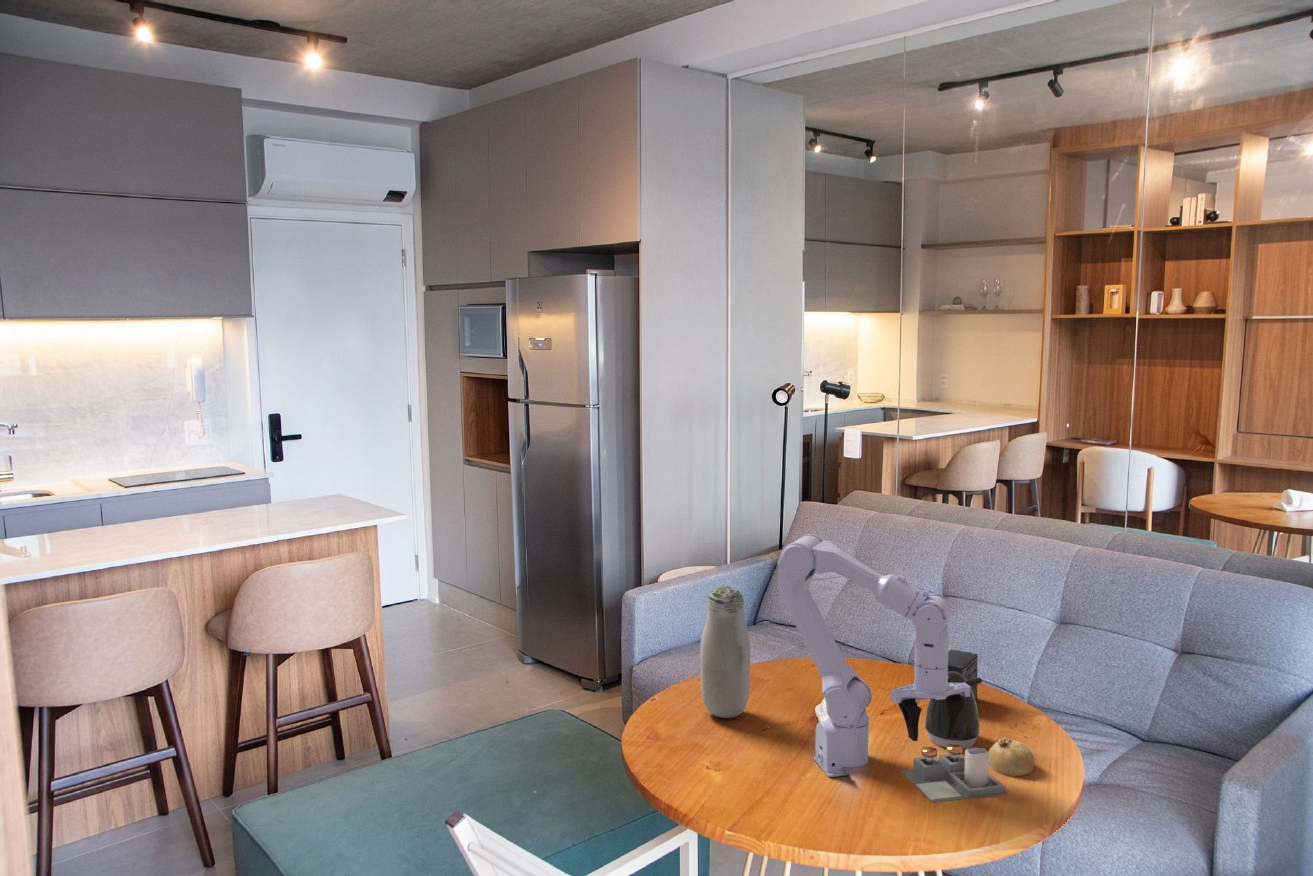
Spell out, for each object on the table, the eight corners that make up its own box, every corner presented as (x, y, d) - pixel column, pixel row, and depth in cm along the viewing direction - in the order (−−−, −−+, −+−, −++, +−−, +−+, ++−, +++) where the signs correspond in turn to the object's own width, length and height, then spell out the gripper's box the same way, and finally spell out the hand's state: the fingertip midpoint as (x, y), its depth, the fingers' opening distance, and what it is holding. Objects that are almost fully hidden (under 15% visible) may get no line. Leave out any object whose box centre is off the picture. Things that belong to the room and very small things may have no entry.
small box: (949, 693, 212) (950, 648, 211) (978, 699, 208) (979, 653, 207) (932, 708, 203) (933, 661, 202) (962, 714, 199) (964, 667, 198)
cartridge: (971, 791, 163) (972, 755, 162) (959, 781, 166) (960, 746, 166) (992, 789, 163) (993, 753, 163) (980, 778, 167) (981, 743, 167)
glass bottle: (692, 717, 200) (691, 588, 197) (721, 702, 207) (721, 578, 204) (730, 729, 193) (729, 596, 190) (758, 713, 201) (758, 586, 198)
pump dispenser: (983, 760, 178) (985, 683, 176) (926, 756, 180) (928, 679, 178) (976, 738, 188) (978, 664, 186) (922, 734, 190) (924, 661, 188)
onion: (1001, 761, 178) (1002, 725, 177) (1042, 775, 172) (1043, 738, 171) (979, 775, 172) (980, 737, 171) (1021, 790, 166) (1022, 751, 166)
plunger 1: (925, 769, 168) (925, 754, 167) (918, 762, 170) (918, 747, 170) (939, 767, 168) (940, 752, 168) (932, 760, 171) (932, 745, 171)
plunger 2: (951, 766, 169) (951, 751, 168) (943, 759, 171) (943, 744, 171) (965, 764, 169) (965, 749, 169) (957, 757, 172) (957, 743, 172)
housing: (932, 811, 159) (932, 789, 159) (899, 778, 171) (900, 758, 170) (1006, 802, 162) (1007, 781, 161) (969, 771, 174) (970, 751, 173)
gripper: (903, 675, 162) (902, 750, 163) (980, 668, 165) (978, 742, 166) (885, 661, 169) (884, 734, 170) (959, 655, 172) (957, 726, 173)
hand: (929, 737), depth 169 cm, fingers open, 6 cm apart
